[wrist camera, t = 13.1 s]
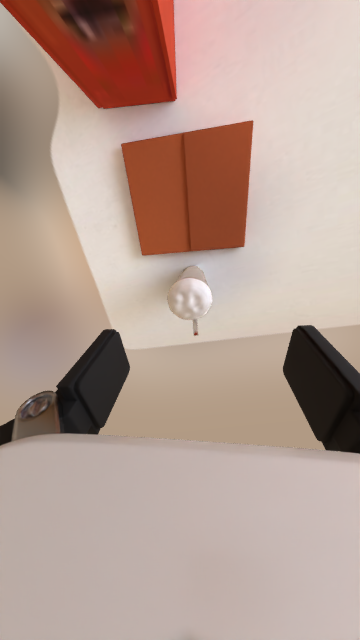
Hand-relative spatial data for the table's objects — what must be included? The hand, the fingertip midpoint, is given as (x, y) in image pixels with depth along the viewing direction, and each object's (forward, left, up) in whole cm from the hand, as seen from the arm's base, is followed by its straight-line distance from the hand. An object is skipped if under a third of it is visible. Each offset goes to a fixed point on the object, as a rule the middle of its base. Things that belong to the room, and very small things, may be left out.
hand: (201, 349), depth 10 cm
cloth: (-8, -1, -17) cm, 19 cm away
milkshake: (+1, -1, -17) cm, 17 cm away
